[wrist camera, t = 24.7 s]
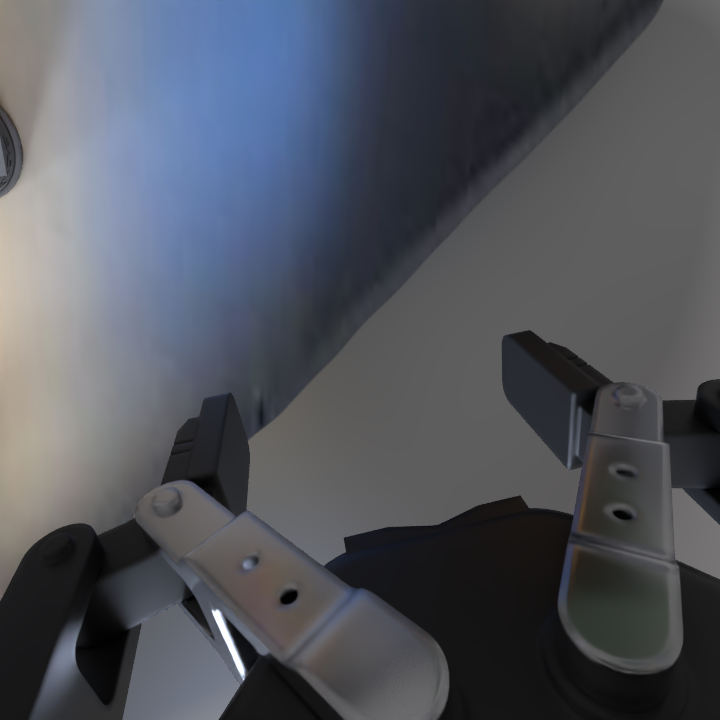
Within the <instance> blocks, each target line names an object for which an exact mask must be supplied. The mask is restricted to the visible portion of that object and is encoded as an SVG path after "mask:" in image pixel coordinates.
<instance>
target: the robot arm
mask: <svg viewBox="0 0 720 720" xmlns="http://www.w3.org/2000/svg"><path fill="white" fill-rule="evenodd" d="M22 161H23V156H22V147H21V143H20V140H19V137H18V134H17V132H16V129H15V127H14V126H13V124H12V122H11V120H10V119H9V117H8V116H7V115H6V113H5V112H4V111H3V110H2V108H1V107H0V197H2V196H3V195H5V194H6V193H8V192H9V191H10V190H11V189H12V188H13V187H14V185H15V184H16V182H17V180H18V178H19V176H20V173H21V169H22ZM502 382H503V389H504V392H505V395H506V397H507V399H508V401H509V402H510V404H511V405H512V406H513V407H514V408H515V409H516V410H517V412H518V413H519V414H520V415H521V416H522V417H523V419H524V420H525V421H526V422H527V423H528V424H529V425H530V426H531V428H532V429H533V430H534V431H535V432H536V433H537V435H538V436H539V437H540V438H541V439H542V440H543V442H544V443H545V444H546V445H547V446H548V447H549V448H550V450H552V452H553V453H554V454H555V455H556V456H557V458H558V459H559V460H560V461H561V462H562V463H563V465H564V466H565V467H566V468H567V469H568V470H572V469H577V468H581V467H582V470H581V476H580V481H579V487H578V493H577V499H576V505H575V511H574V515H571V514H568V513H564V512H560V511H556V510H549V509H539V508H528V506H527V505H526V503H525V502H524V500H523V499H522V497H521V496H516V497H512V498H508V499H503V500H499V501H495V502H491V503H487V504H482V505H479V506H476V507H474V508H472V509H470V510H468V511H466V512H464V513H462V514H460V515H458V516H456V517H453V518H451V519H449V520H448V521H445V522H443V523H441V524H439V525H434V526H407V527H386V528H383V529H378V530H374V531H370V532H366V533H361V534H357V535H354V536H349V537H345V538H344V542H345V548H346V553H344V554H341V555H340V556H338V557H336V558H335V559H333V560H332V561H330V562H328V563H327V564H326V565H325V566H322V565H321V564H320V563H318V562H317V561H316V560H314V559H313V558H312V557H310V556H309V555H308V554H306V553H305V552H304V551H302V550H301V549H300V548H298V547H297V546H296V545H294V544H293V543H292V542H290V541H289V540H288V539H286V538H285V537H284V536H282V535H281V534H280V533H278V532H277V531H276V530H274V529H273V528H272V527H270V526H269V525H268V524H266V523H265V522H264V521H262V520H261V519H260V518H258V517H257V516H256V515H254V514H253V513H251V512H250V511H247V510H246V507H247V492H248V479H249V464H250V452H249V445H248V441H247V437H246V434H245V431H244V427H243V424H242V421H241V418H240V415H239V412H238V409H237V405H236V402H235V399H234V397H233V395H232V393H227V394H222V395H217V396H213V397H208V398H204V400H203V404H202V408H201V412H200V416H199V417H196V418H191V419H188V420H187V421H186V423H185V424H184V425H183V426H182V427H181V428H180V429H179V430H178V432H177V435H176V438H175V442H174V446H173V448H172V451H171V456H170V457H169V461H168V464H167V467H166V470H165V473H164V476H163V480H162V483H161V486H159V487H157V488H156V489H154V490H152V491H151V492H149V493H148V494H147V495H146V496H145V497H144V498H143V499H142V500H141V501H140V502H139V504H138V505H137V507H136V510H135V518H134V519H132V520H130V521H129V522H126V523H124V524H122V525H120V526H118V527H116V528H113V529H111V530H109V531H107V532H104V533H102V534H100V535H98V536H97V535H96V533H95V531H94V529H93V528H92V527H91V526H90V525H87V524H82V523H78V524H71V525H67V526H64V527H62V528H59V529H57V530H55V531H53V532H51V533H49V534H48V535H46V536H44V537H43V538H42V539H40V540H39V541H38V542H36V543H35V544H34V545H33V546H32V547H31V548H30V549H29V550H28V552H27V553H26V554H25V555H24V557H23V559H22V561H21V563H20V564H19V566H18V568H17V570H16V572H15V574H14V576H13V578H12V580H11V582H10V584H9V586H8V588H7V590H6V592H5V594H4V596H3V598H2V599H1V601H0V720H122V718H123V713H124V708H125V703H126V698H127V694H128V688H129V683H130V679H131V674H132V668H133V664H134V659H135V654H136V648H137V644H138V639H139V634H140V629H141V624H142V622H144V621H146V620H148V619H150V618H151V617H153V616H155V615H157V614H159V613H161V612H163V611H165V610H167V609H168V608H170V607H172V606H174V605H176V604H178V605H179V607H180V608H181V609H182V610H183V611H184V613H185V614H186V615H187V616H188V617H189V619H190V620H191V621H192V622H193V623H194V624H195V626H196V627H197V628H198V629H199V630H200V632H201V633H202V634H203V635H204V636H205V638H206V639H207V640H208V641H209V642H210V644H211V645H212V646H213V647H214V648H215V649H216V651H217V652H218V653H219V654H220V656H221V657H222V658H223V660H224V662H225V663H226V665H227V666H228V668H229V670H230V671H231V673H232V674H233V676H234V677H235V679H236V680H237V682H238V683H239V685H240V687H239V689H238V690H237V692H236V693H235V695H234V697H233V698H232V700H231V701H230V703H229V704H228V706H227V707H226V709H225V711H224V712H223V714H222V715H221V717H220V718H219V720H720V579H718V578H716V577H713V576H711V575H709V574H706V573H704V572H702V571H700V570H697V569H695V568H693V567H691V566H688V565H686V564H684V563H682V562H679V561H677V560H675V549H674V530H673V509H672V489H671V488H683V489H684V490H685V492H686V493H687V494H688V495H689V496H691V498H693V499H694V500H695V501H696V502H697V503H698V504H699V505H700V506H701V507H702V508H703V509H704V510H705V511H706V512H707V513H708V514H709V515H710V516H711V517H712V518H713V519H714V520H715V521H716V522H718V524H719V525H720V379H716V380H710V381H706V382H704V383H702V384H701V385H700V386H699V387H698V390H697V395H696V400H669V401H663V400H662V398H661V396H660V395H659V394H658V393H657V392H656V391H654V390H652V389H650V388H648V387H646V386H642V385H639V384H635V383H625V382H621V383H620V382H619V383H613V382H612V381H610V380H609V379H608V378H606V377H605V376H604V375H603V374H601V373H600V372H599V371H597V370H596V369H594V368H593V367H592V366H590V365H587V363H586V362H585V361H584V360H582V359H581V358H578V356H577V355H576V354H574V353H573V352H572V351H570V350H569V349H567V348H565V347H563V346H560V345H557V344H554V343H551V342H550V343H546V342H545V341H544V340H542V339H541V338H539V336H537V335H536V334H535V333H533V332H532V331H530V330H528V331H524V332H519V333H514V334H509V335H505V336H504V337H503V340H502Z"/></svg>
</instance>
